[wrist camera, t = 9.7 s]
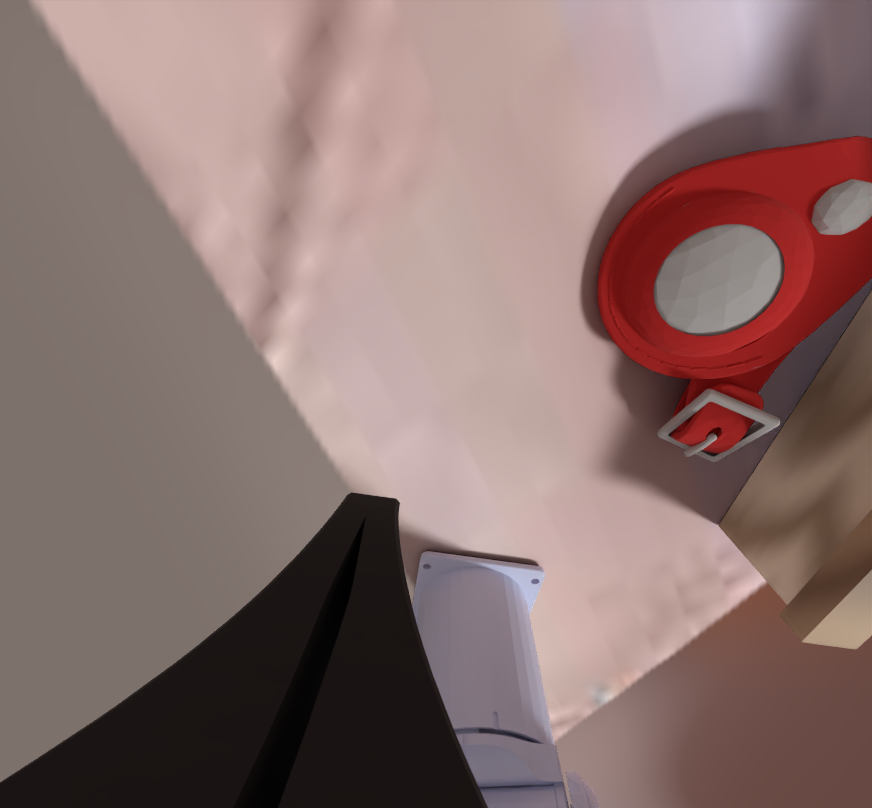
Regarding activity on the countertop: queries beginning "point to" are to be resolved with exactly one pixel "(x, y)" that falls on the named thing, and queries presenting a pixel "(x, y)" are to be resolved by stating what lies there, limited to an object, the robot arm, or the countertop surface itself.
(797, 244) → the tracker holder
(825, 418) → the wall board
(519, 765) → the robot arm
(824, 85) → the countertop surface
